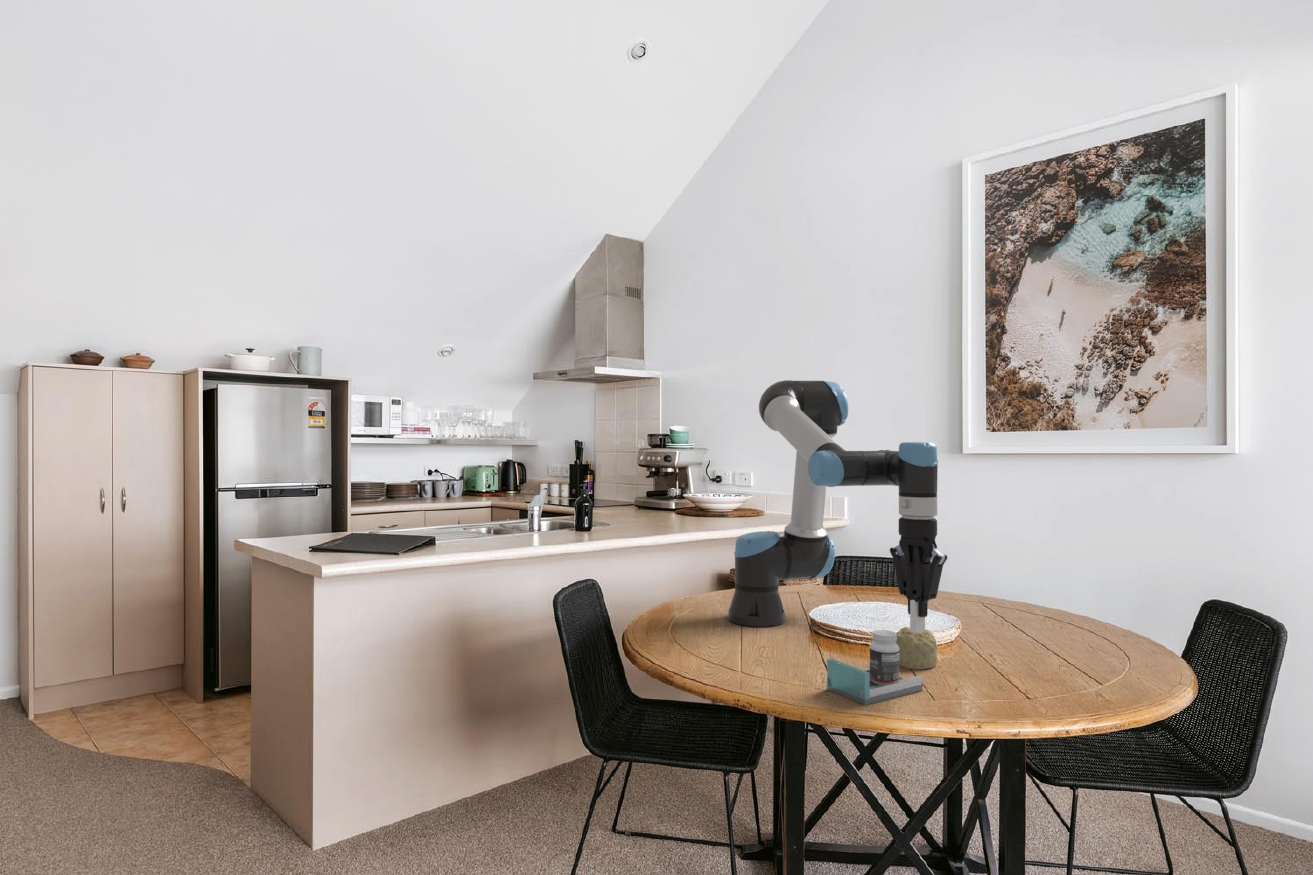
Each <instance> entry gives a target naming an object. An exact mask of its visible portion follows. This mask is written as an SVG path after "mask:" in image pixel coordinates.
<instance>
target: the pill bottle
mask: <svg viewBox="0 0 1313 875" xmlns="http://www.w3.org/2000/svg"><path fill="white" fill-rule="evenodd" d="M896 633H897V632H895V631H892V630H889V629H875V630H873V631H872V635H871V636H872V639H873V641H872V642H870V643H869V644H870V645H869V668H870V670H869V672H870V680H871V682H873V683H875V684H878V685H881V684H885V683H889V682H893V681H898V680H899V677H900V665H899V646H898V645H897V644H896V642H895V641H896V640H897V634H896Z"/></svg>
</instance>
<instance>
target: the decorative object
mask: <svg viewBox="0 0 1313 875" xmlns="http://www.w3.org/2000/svg"><path fill="white" fill-rule="evenodd" d="M895 633H896V634H897V640H896V641H895V642H896V644H897V645H898V646H899V666H901V667H904V668H907V669H910V670H911V669H912V670H925V669H932V668H934V667H936V666H937V662H938V661H937V660H938V657H937V656H938V652H937V650H938V646H937V645H938V644H937V641H936V638H935V636H934V634H933V633H932V632H931V630H929V629H925V632H921V633H912V632H910V626H904V627H902V628H900V629H899V631H897V632H895Z"/></svg>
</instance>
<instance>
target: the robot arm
mask: <svg viewBox="0 0 1313 875" xmlns="http://www.w3.org/2000/svg"><path fill="white" fill-rule="evenodd" d="M758 412H759V416H760V418H761V420H762V422H763V423H764V424H765V425H766V426H767V427H768V428H769V429H770V430H772V431H775V432H778V433H779V434H780V435H781V436H782V437H783V438H784V439H785V440H786V441H787V442H788V443H789V444H790V445H791V446H792V447H793V448H794V449H795V450H796V455H795V465H794V466H795V468H794V477H793V492H792V503H791V515H790V516H791V517H790V523H788V524H787V525H786V526H785V527H784V529H783V530H784V532H783V536H780V535H779V533H778V532H776V531H774V530H773V531H772V530H764V531H763V530H760V531H753V532H749V533H744V534H741V535H739V536H738V538H736V541H735V549H734V553H733V554H734V592H733V596H732V598H731V602H730V607H729V608H728V612H727V616H728V618H727V619H728V621H729V622H731V623H733V624H736V625H741V626H745V627H746V626H747V627H754V628H755V627H757V628H758V627H762V628H763V627H764V628H765V627H775V626H778V625H779V626H780V625H782V624H784V623H785V621H786V619H785V618H786V612H785V609H784V606H783V603H782V599H781V595H780V592H779V582H780V581H787V580H789V581H790V580H813V579H818V578H824V577H825V576H827V575H828V574H829V573H830V572H831V570H832V568H833V566H834V563H835V559H836V558H835V557H836V556H835V555H836V554H835V553H836V549H835V548H834V546H835V543H834V541H833V539H832V537H830V536H829V534H828V533H829V532H828V530H827V528H825V526H824V518H825V517H824V514H825V505H826V504H825V503H826V492H827V488H835V487H856V486H864V487H865V486H867V487H868V486H869V487H870V486H893V487H894V486H895V487H898V514H899V516H901V517H899V519H898V535H899V536H900V539H899V541H898V545H896V546H894V547H893V546H892V547H890V548H889V553H890V554H891V557H892V559H893V563H894V570H895V574H896V575H895V576H896V581H897V586H898V592H899V594H900V595H903V596H905V597H906V599H907V613H908V615H909V628H910V632H912V633H921V632H925V630H926V618H927V617H928V613H929V612H928V603H929V601H930V600H935V599H937V596H938V592H939V591H938V590H939V588H940V582H941V578H942V577H941V576H942V573H943V568H944V565H945V563H946V562H947V560H948V555H947V554H946V553H941V552H940V550H939V549H938V545H937V543H936V538H937V536H938V520H937V519H936V518H935V517H936V516H938V469H939V468H938V464H939V460H938V451H937V450H938V449H937V446H936V444H935V443H933V442H931V441H930V442H928V441H927V442H926V441H925V442H923V441H921V442H920V441H919V442H918V441H916V442H915V441H912V442H911V441H906V442H905V441H904V442H903V441H902V442H901V443H899V446H898V450H889V449H885V450H884V449H881V450H845V449H844V448H843V447H842V446H840V445H839V444H838V442H836V441H835V440H834V439H833V438H834V437H835V436H836V435H837V434H838V427H840V426H842V425H844V424H845V423H846V422H847V419H848V417H849V402H848V398H847V394H846V392H845V390H844V388H843V387H842V386H841V385H840V384H838V382H835V381H827V380H792V379H791V380H790V379H789V380H788V379H786V380H781V381H777V382H774V383H773V384H771V385H770V386H769V387H767V388H766V389H765V391H764V392H763V393H762V394H761V396H760V399H759V402H758Z"/></svg>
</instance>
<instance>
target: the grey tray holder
mask: <svg viewBox="0 0 1313 875" xmlns="http://www.w3.org/2000/svg"><path fill="white" fill-rule="evenodd" d="M869 670H870V667H866V668H860V667H859V668H858V667H856V666H853V665H851V664H848V663H845V662H842V661H839V660H836V659H835V658H827V660H826V677H827V678H826V690H828V691H830V692H832V693H835V694H836V695H839V696H842V697H844V698H846V699H848V700H851V701H852V702H856V703H859V704H860V705H863V706H868V705H872V704H876V703H879V702H880V703H881V702H883V701H887V700H891V699H895V698H900V697H903V696H906V695H910V694H914V693H918V692H922V691H923V689H924V688H923V686H924V685H923V684H922V683H923V682H922V681H923V677H922V676H920V675H915V676H910V677H906V678H903V677H901V676H899V680H898V681H893V682H889V683H885V684H881V685H878V684H875V683H873V682H871V680H870V672H869Z"/></svg>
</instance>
